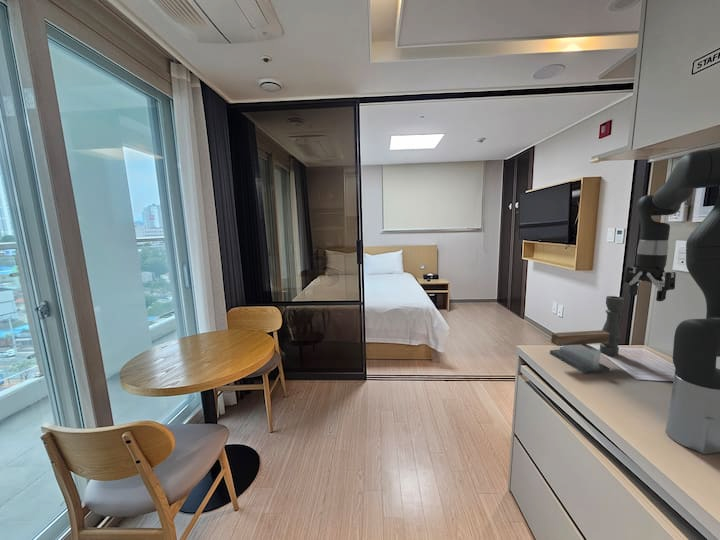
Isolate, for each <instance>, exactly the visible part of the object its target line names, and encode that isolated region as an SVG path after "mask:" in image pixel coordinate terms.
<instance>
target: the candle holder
mask: <svg viewBox="0 0 720 540" xmlns="http://www.w3.org/2000/svg"><path fill="white" fill-rule="evenodd" d="M605 298H606V299H605V304H606V305H605V306H606V308H607V309H605V313H606V320H605V322H604V325H603V326H602V329H601V330H603V331H605V332H608V333H610V337H609V343H599V350H600V354H602V353H603V355H605V356H609V357H617V356H619V351H620V350H619V348H620V347H619V343H618V341H617V340H618V339H619V338H620V337H621V330H620V329H621V328H620V325H619V319H620V315H622V311H621V309H622V308H623V307H624V303H625V302H624V301H625V298H624V297H621V296H615V295H614V296H613V295H607V296H606V297H605Z"/></svg>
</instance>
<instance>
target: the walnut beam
mask: <svg viewBox="0 0 720 540" xmlns="http://www.w3.org/2000/svg"><path fill="white" fill-rule="evenodd" d="M609 337H610V333H608V332H605V331H603V330H602V329H600V330H586V331H585V330H583V331H580V330H579V331H564V332H552V333H551V341H550V343H552V344H553V345H555V346H558V347H560V346H563V345H580V344H587V345H593V344H601V343H609Z"/></svg>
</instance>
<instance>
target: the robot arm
mask: <svg viewBox="0 0 720 540" xmlns="http://www.w3.org/2000/svg"><path fill="white" fill-rule="evenodd" d="M713 187H714V188H715V187H718V195H717V199H716V202H715V204H714V206H713V207H712V209H710V210H711V211H710V212H709V213H708V214H707V216H705V218H704V219H703V220H702V221H701V222H700V223H699V224H698V225H697V226H696V227H695V228H694V230H692V232H691V233H690V235H689V236H688V238H687V240H686V243H685V266H686V269H687V271H688V273H689V275H690V276H691V278H692V279H693V280H694V282H695V283H696V285H697V286H698V287H699V289H700V290H701V292H702V294H703V295H704V299H705V302H706V316H705V318H691V319H690V318H689V319H685V320H683V321H681V322H680V323H679V324H678V325H677V326H676V328H675V332H674V336H673V347H672V349H673V350H672V362H673V366H674V368H675V369H674V376H673V383H672V387H671V393H670V394H671V395H670V402H669V407H668V411H667V412H668V414H667V420H666V425H665V433H666V435H667V436H668V437H669V438H670V439H671V440H673V441H674V442H676V443H678V444H679V445H681V446H683V447H686V448H688V449H691V450H694V451H696V452H698V453H700V454H702V455H710V454H715V453H720V369H719V368H717V358H718V357H719V358H720V147H713V148H707V149H700V150H695V151H691V152H689V153H686V154H684V156H682V157H680V159H679V160H678V162H677V163H676V165H675V166H674V168H673V170H672V171H671V173H670V175H669V176H668V178H667V180H666V182H665V183H664V185H662V186H661V187H660V188H659V189H658V190H657V191H655V193H654V194H646V195H643V196H641V198H639V199H638V201H637V203H636V210H637V213H638V216H639V221H640V234H639V235H640V236H639V242H638V245H637V253H636V260H635V265H636V267H635V266H627V267H626V269H625V275H624V276H625V277H624V283H627V284H629V295H630V296H633V297H634V296H637V295H638V293H639V292H638V291H639V284H640V283H641V282H648V283H652V284H653V285H654V286H655V287H656V288H657V290H656V297H655V301H657V302H664V300H666V299H667V291H670V290H671V291H673V290H675V287H676V276H677V275H676V272H675V271H665V268H666V266H667V261H668V255H669V254H668V253H669V252H668V251H669V240H670V238H669V237H670V229H671V227H670V223H667V222H661V221H655V220H653V218H652V216H671V215H675V214H677V213H678V212H679V211H680V208H681V206H682V204H683V203H684V202H686V201H687V200H688V199H689V198H691V196H692V195H693V192H694V189H702V188H704V189H705V188H713ZM635 274H636V275H635Z"/></svg>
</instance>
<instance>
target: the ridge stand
mask: <svg viewBox="0 0 720 540" xmlns="http://www.w3.org/2000/svg"><path fill="white" fill-rule="evenodd" d="M549 354H550V355H551V356H553V357H555V358H557V359H559V360H560V359H561V360H560V361H562V362H564V363H566V364H567V365H569V366H571V367H573V368H574V369H576V370H577V371H579V372H581V371H582V372H581V373H583V374H585V375H589V374H592V375H593V374H602V373H610V370H611V368H610V367H608V366H607V365H604V364H603V363H600V359H601V352H600V349H598V348H595V347H593V346H591V345H590V344H580V345H563V347H560V346H559V349H550V350H549Z"/></svg>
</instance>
